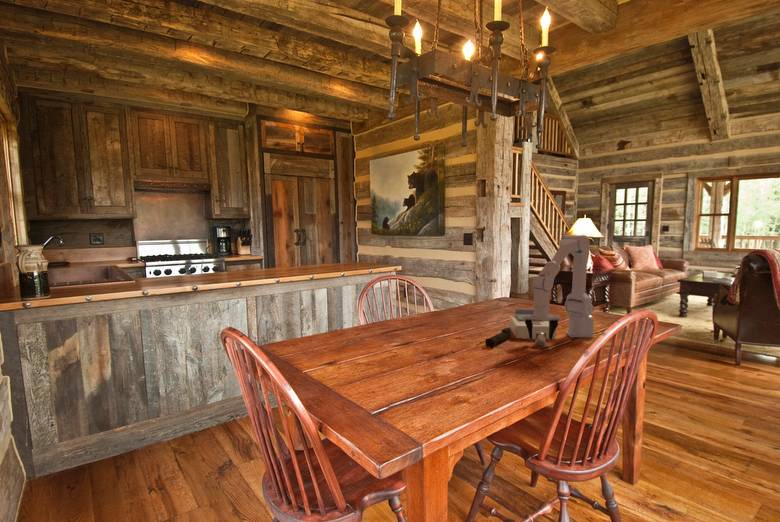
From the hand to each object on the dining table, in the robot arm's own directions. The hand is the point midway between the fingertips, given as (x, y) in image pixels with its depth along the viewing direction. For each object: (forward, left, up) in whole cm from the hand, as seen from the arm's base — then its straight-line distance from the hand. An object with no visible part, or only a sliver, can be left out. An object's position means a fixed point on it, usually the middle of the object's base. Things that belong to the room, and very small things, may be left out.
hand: (540, 338), depth 161 cm
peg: (0, 0, -3) cm, 3 cm away
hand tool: (+16, -3, -3) cm, 16 cm away
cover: (0, -22, +3) cm, 22 cm away
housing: (0, -17, -3) cm, 17 cm away
